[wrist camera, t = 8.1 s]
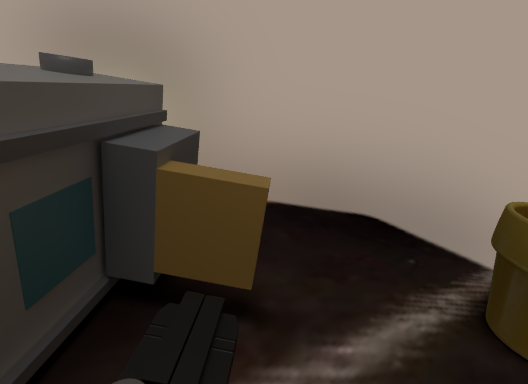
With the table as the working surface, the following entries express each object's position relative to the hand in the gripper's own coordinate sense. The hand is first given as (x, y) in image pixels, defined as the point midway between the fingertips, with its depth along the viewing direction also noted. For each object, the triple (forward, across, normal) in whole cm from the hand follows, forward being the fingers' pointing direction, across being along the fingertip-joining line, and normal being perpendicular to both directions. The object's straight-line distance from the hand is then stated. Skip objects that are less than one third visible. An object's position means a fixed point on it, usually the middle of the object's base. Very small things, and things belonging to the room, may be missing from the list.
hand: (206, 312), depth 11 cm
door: (+11, -3, -5) cm, 12 cm away
